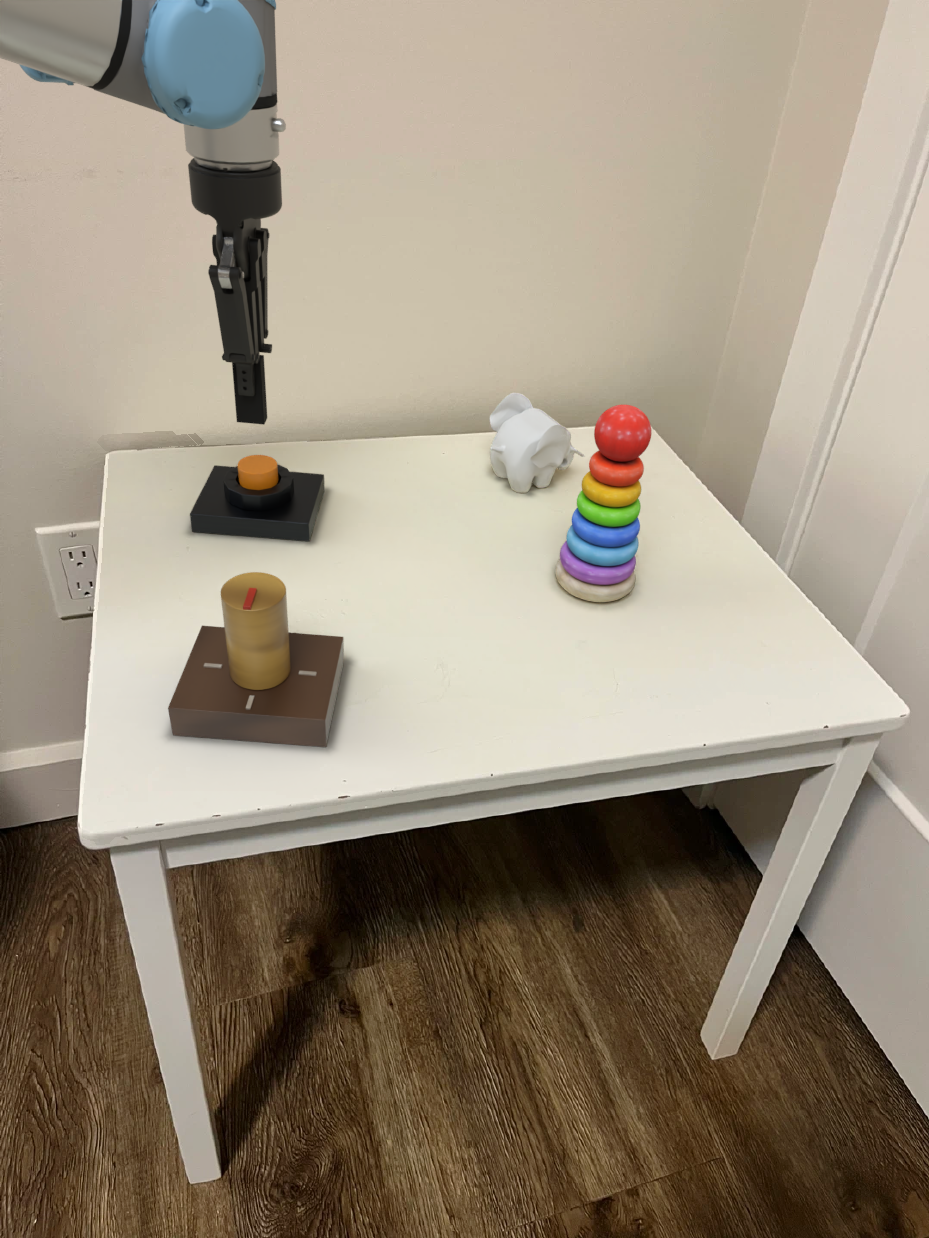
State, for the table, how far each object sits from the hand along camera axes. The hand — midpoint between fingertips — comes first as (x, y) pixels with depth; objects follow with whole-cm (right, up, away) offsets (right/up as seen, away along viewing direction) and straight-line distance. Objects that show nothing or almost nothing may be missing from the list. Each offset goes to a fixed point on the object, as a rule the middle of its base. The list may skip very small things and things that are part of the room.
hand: (252, 419), depth 90 cm
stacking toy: (+34, -16, +1) cm, 38 cm away
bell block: (-1, -8, +7) cm, 11 cm away
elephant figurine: (+29, -3, +17) cm, 33 cm away
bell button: (0, -5, +5) cm, 7 cm away
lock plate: (+4, -26, -15) cm, 30 cm away
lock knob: (+5, -24, -17) cm, 30 cm away
